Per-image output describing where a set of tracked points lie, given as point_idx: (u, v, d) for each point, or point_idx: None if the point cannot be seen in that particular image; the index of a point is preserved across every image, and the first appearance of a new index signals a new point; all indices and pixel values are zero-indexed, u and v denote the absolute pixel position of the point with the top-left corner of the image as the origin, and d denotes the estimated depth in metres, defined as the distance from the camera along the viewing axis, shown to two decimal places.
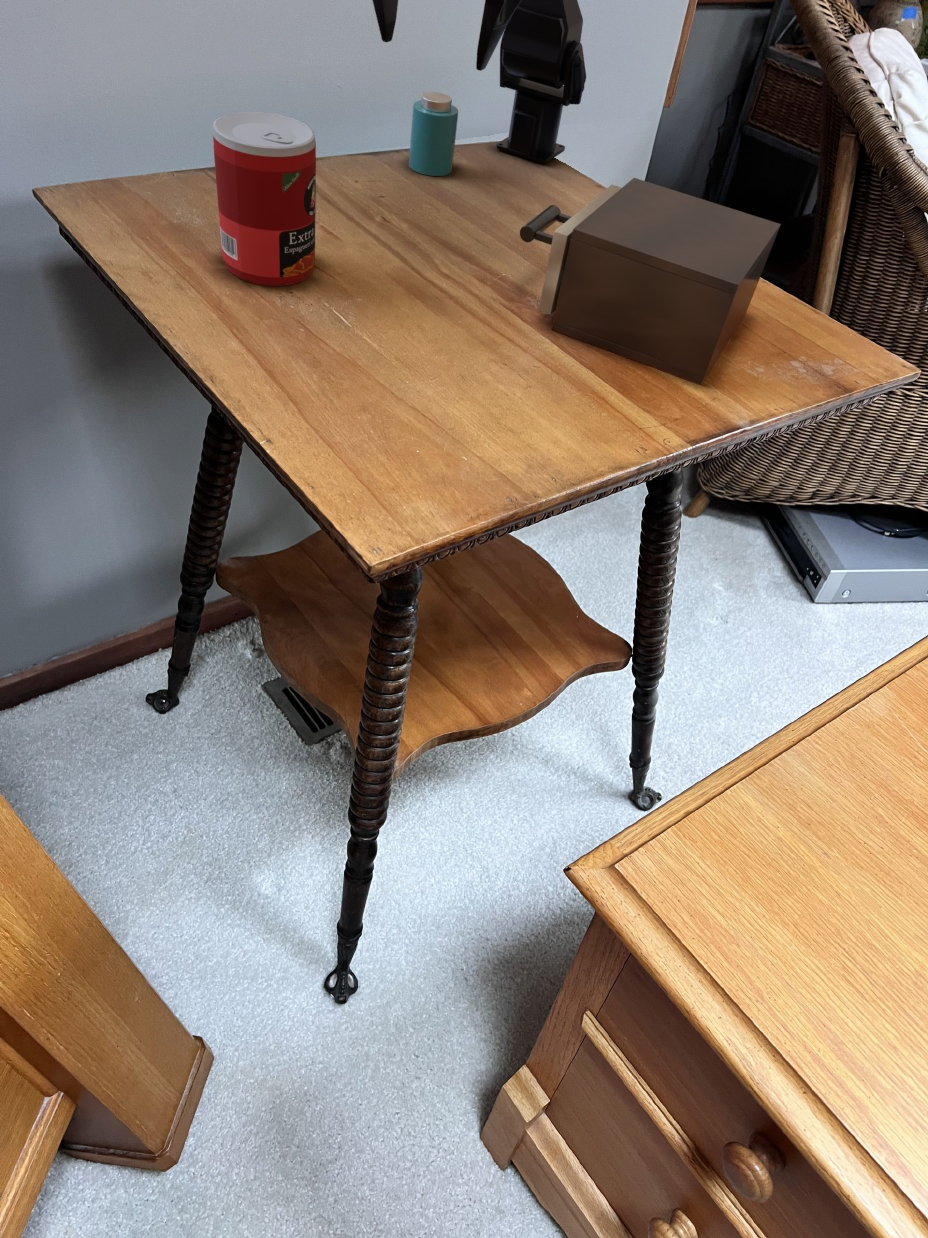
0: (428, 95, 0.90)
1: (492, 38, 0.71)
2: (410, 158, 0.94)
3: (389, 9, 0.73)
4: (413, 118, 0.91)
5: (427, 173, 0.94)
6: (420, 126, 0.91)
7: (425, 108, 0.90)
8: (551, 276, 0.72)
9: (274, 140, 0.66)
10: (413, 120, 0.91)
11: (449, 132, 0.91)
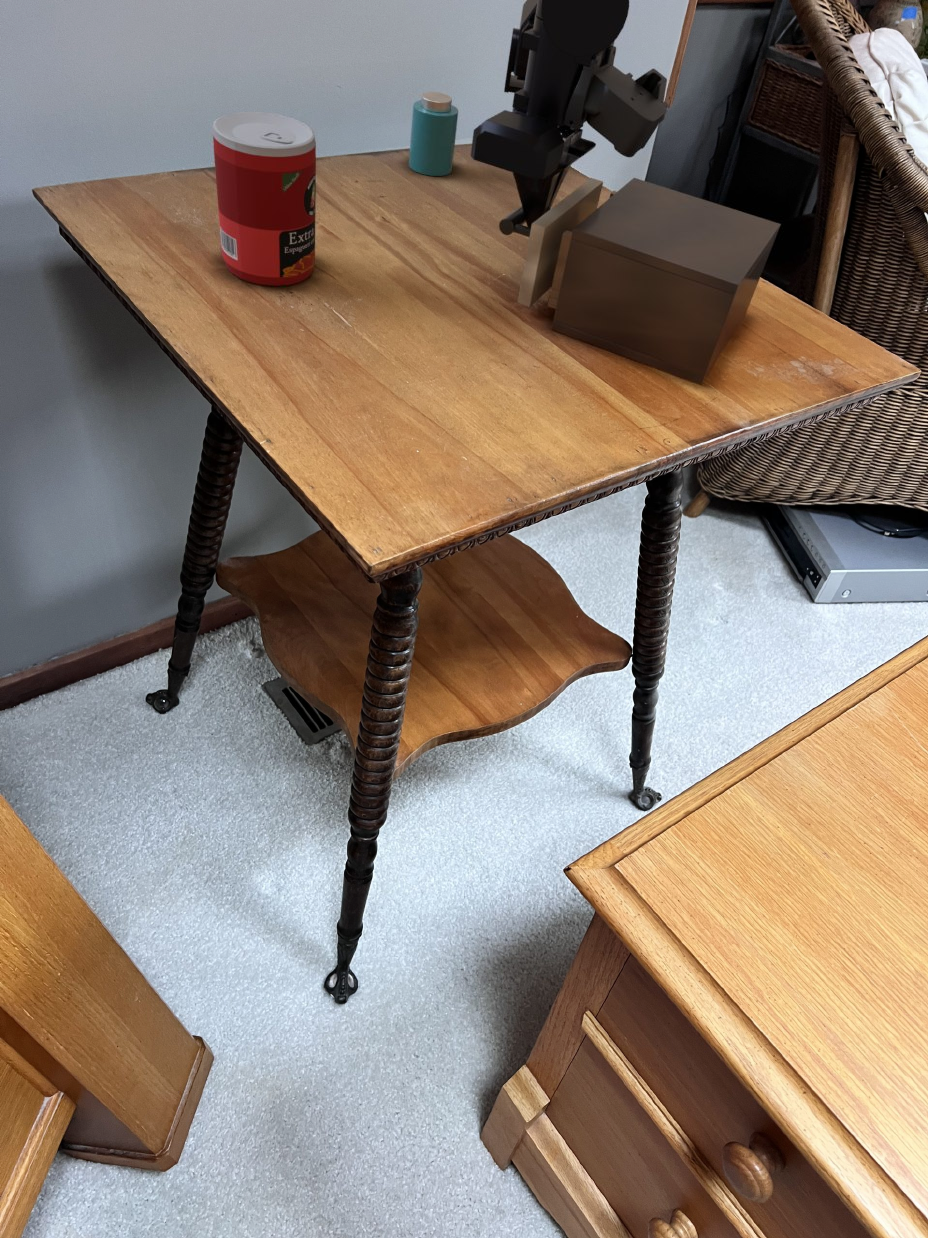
0: (428, 95, 0.90)
1: None
2: (410, 158, 0.94)
3: None
4: (413, 118, 0.91)
5: (427, 173, 0.94)
6: (420, 126, 0.91)
7: (425, 108, 0.90)
8: (529, 268, 0.72)
9: (274, 140, 0.66)
10: (413, 120, 0.91)
11: (449, 132, 0.91)
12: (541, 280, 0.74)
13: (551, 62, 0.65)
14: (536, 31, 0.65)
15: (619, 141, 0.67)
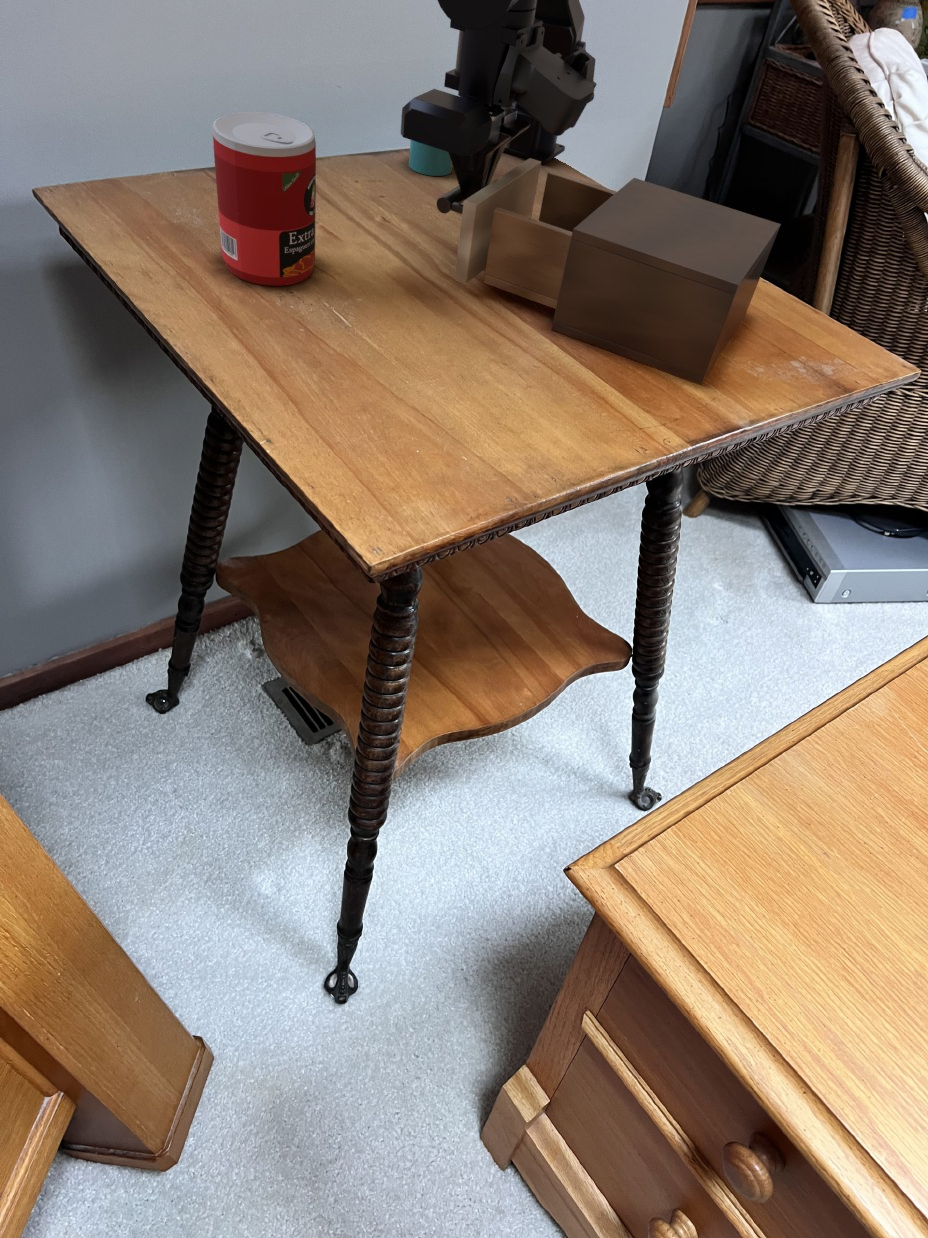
0: None
1: None
2: (410, 158, 0.94)
3: None
4: None
5: (427, 173, 0.94)
6: None
7: None
8: (464, 245, 0.73)
9: (274, 140, 0.66)
10: None
11: None
12: (477, 257, 0.75)
13: (478, 41, 0.67)
14: None
15: (546, 119, 0.68)
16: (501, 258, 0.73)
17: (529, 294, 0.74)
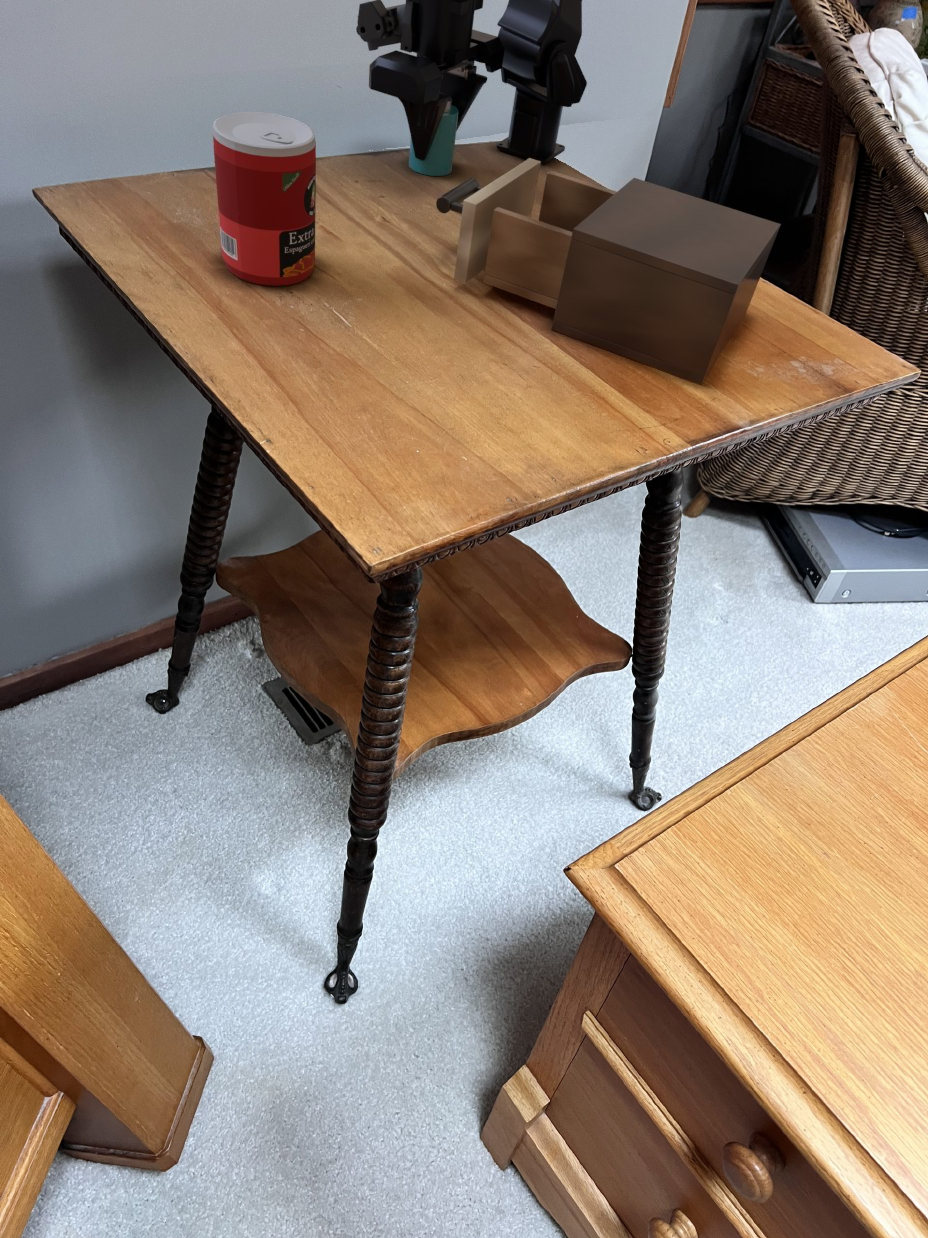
0: None
1: (414, 134, 0.90)
2: (410, 158, 0.94)
3: None
4: None
5: (427, 173, 0.94)
6: None
7: None
8: (463, 245, 0.73)
9: (274, 140, 0.66)
10: None
11: (449, 131, 0.91)
12: (476, 257, 0.75)
13: None
14: None
15: None
16: (500, 258, 0.73)
17: (528, 293, 0.74)
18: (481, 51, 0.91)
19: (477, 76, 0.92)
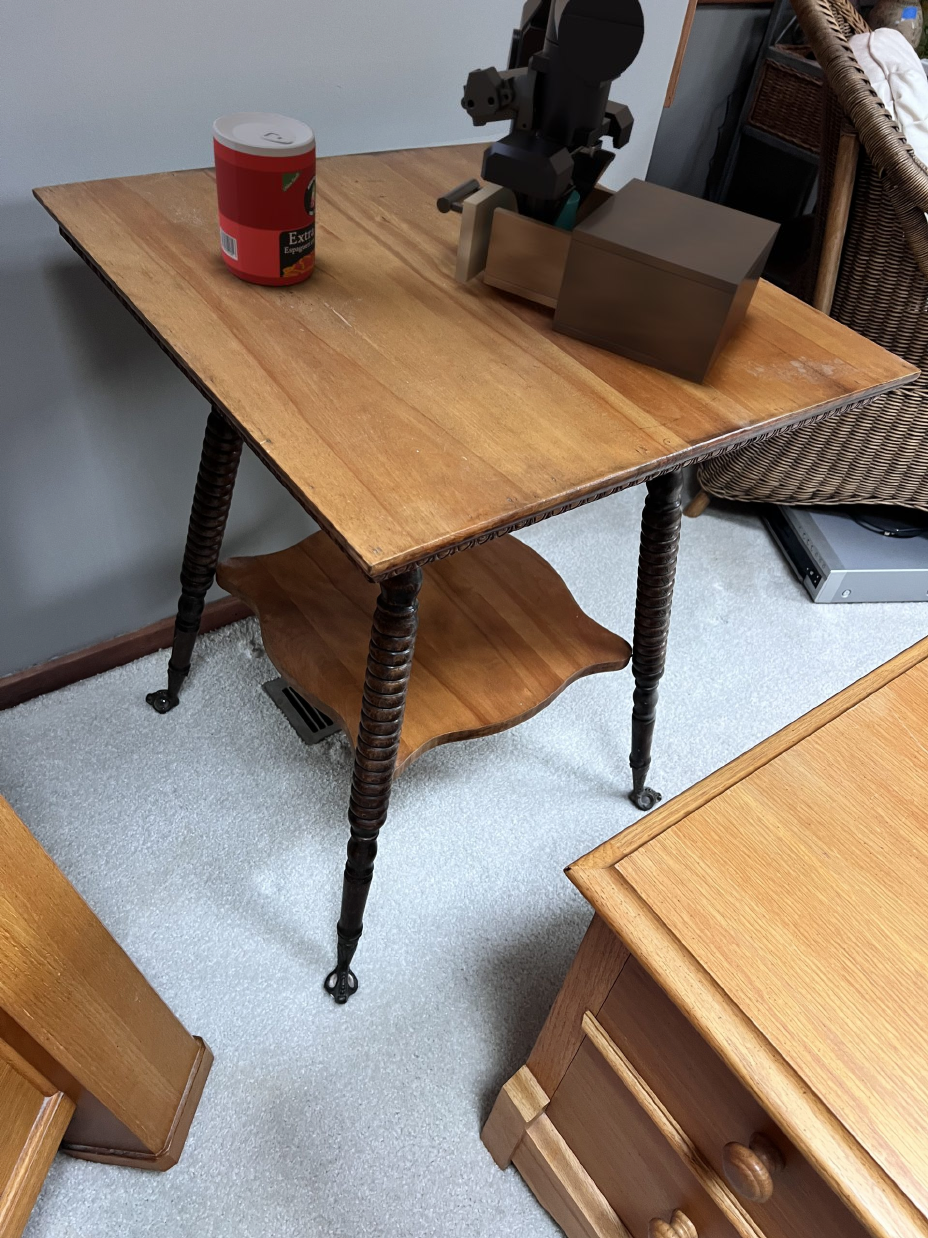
0: None
1: None
2: None
3: None
4: None
5: None
6: None
7: None
8: (464, 245, 0.73)
9: (274, 140, 0.66)
10: None
11: (568, 221, 0.74)
12: (477, 257, 0.75)
13: None
14: None
15: None
16: (501, 258, 0.73)
17: (529, 294, 0.74)
18: (609, 125, 0.74)
19: (604, 153, 0.75)
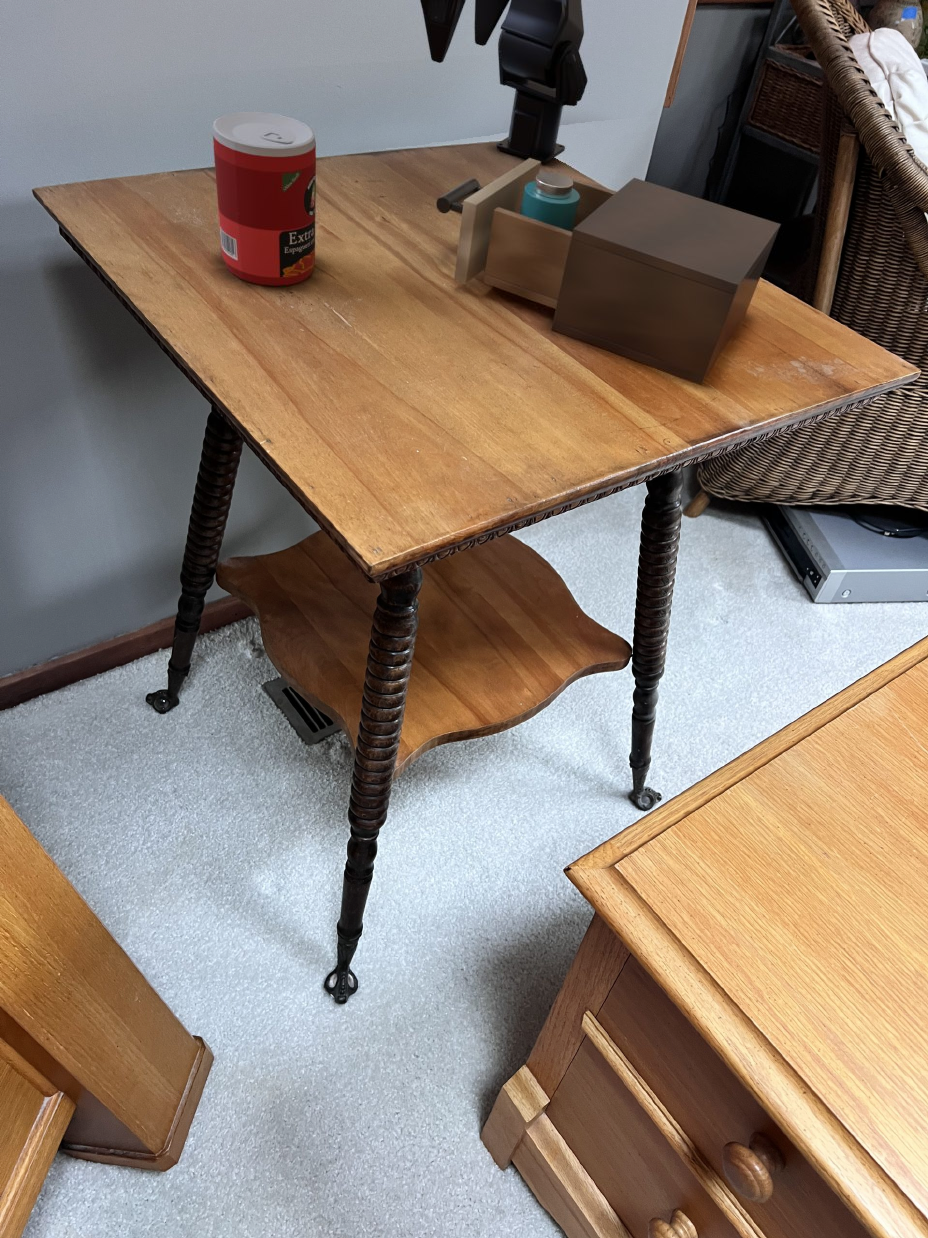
0: (545, 178, 0.73)
1: (430, 30, 0.79)
2: None
3: (482, 17, 0.86)
4: (524, 205, 0.74)
5: None
6: (534, 215, 0.74)
7: (540, 193, 0.73)
8: (464, 245, 0.73)
9: (274, 140, 0.66)
10: (524, 207, 0.74)
11: (568, 221, 0.74)
12: (477, 257, 0.75)
13: None
14: None
15: None
16: (500, 258, 0.73)
17: (529, 294, 0.74)
18: None
19: None
